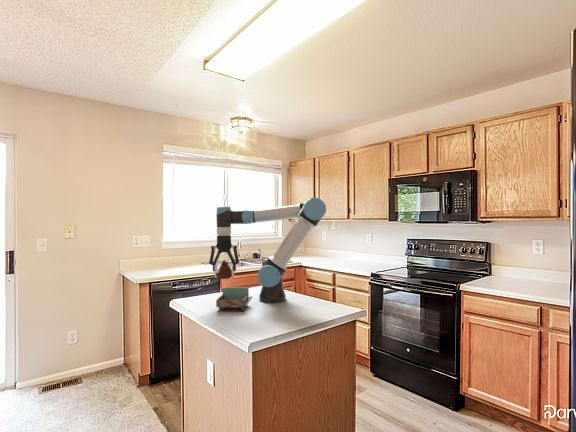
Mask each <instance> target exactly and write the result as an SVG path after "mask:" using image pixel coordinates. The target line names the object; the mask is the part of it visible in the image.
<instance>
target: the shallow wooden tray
mask: <svg viewBox="0 0 576 432" xmlns="http://www.w3.org/2000/svg"><path fill="white" fill-rule="evenodd" d="M249 292H250V291H249V287H222V293H221V295H220V296H219V297H218V298H217V299H216V304H215V305H216V308H218V310H220V309H222V307H224V308H240V310H241V309H243V308H244V307H245V305H246V304H247V302H248V301H249V297H250V295H249ZM249 302H250V301H249ZM249 302H248V303H249ZM247 305H248V304H247ZM247 305H246V306H247ZM245 308H246V307H245Z"/></svg>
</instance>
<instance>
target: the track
mask: <svg viewBox="0 0 576 432" xmlns="http://www.w3.org/2000/svg"><path fill="white" fill-rule="evenodd" d="M252 298H253V296H249V301H248V302H247V304H246V305H245V307H244V308H243V309H241V308H240V309H239V310H224V308H225V307H222V309H218V310H217V313H244V312H245V311H244V310H245V309H246V307H247V305H248V304H249V302H250V301H251V299H252Z"/></svg>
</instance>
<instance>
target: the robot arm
mask: <svg viewBox="0 0 576 432" xmlns="http://www.w3.org/2000/svg"><path fill="white" fill-rule="evenodd" d="M326 212H327V206H326V203H325V202H324V201H323V200H322V199H321V198H319V197H314V196H313V197H309V198H308V199H307V200H306V201H305V202H298V203H297V204H295V205H284V206H276V207H266V208H260V209H258V208H257V209H235V210H234V209H231V206H227V205H226V206H218V207H216V244H215V245H211V246H210V249H211V252H210V257H209V262H208V263H209V265H211V266H212V272H214V278H218V277H217V272H216V269H217V268H218V265H217V262H218V261H219V258H220V256H221V254H222V253H226V254H227V255H228V257H229V259H230V261H231V270H232V277H231V278H234V277H235V272H236V271H237V265H238V264H240V259H239V255H238V250H237V249H238V245H237V244H236V245H233V244H232V236H231V234H232V227H231V226H232V225H236V224H237V225H248V224H255V223H263V222H265V223H266V222H274V221H275V222H276V221H282V220H284V221H285V220H292V219H293V220H294V219H297V220H296V221H295V223H294V224H293V226H292V228H290V230H289V232H288V233H287V234H286V236H285V238H284V239H283V240H282V241H281V243H280V245H279V246H278V248H277V250H275V253H274V254H273V255H271V256H269V257H268V258H267V259H262V261H261V262H262V263H261V267H260V269H259V271H258V273H257V278H258V281H259V283H260V284H261V290H260V292H259V297H258V299H259V301H260V302H263V303H270V304H271V303H280V302H284V301H286V297H287V296H286V292H285V290H284V285H283V276H284V274H285V273H286V271H287V268H288V267H287V265H288V264H289V262H290V260H291V259H292V257H293V256H294V254H295V252H297V249H298V248H300V246H301V244H302V242H304V239H305V238H306V237H307V236H308V233H309V232H310V231H311V229H312V228H316V227H317V226H318V224H319V223H320V222H321V219H323V218H324V216H325V215H326ZM216 249H217V253H216V255H215V251H216ZM231 249H233V254H232V251H231ZM233 255H234V256H233ZM214 257H215V258H214Z"/></svg>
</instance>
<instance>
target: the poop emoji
mask: <svg viewBox="0 0 576 432" xmlns="http://www.w3.org/2000/svg"><path fill="white" fill-rule="evenodd" d="M216 272H217V277H216V278H217V279H219V280H228V279H230V278H232V267H231V266H230V265H229V263H228V262H227V261H226V260H223V261H221V265H220V266H219V267H217V269H216Z"/></svg>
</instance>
